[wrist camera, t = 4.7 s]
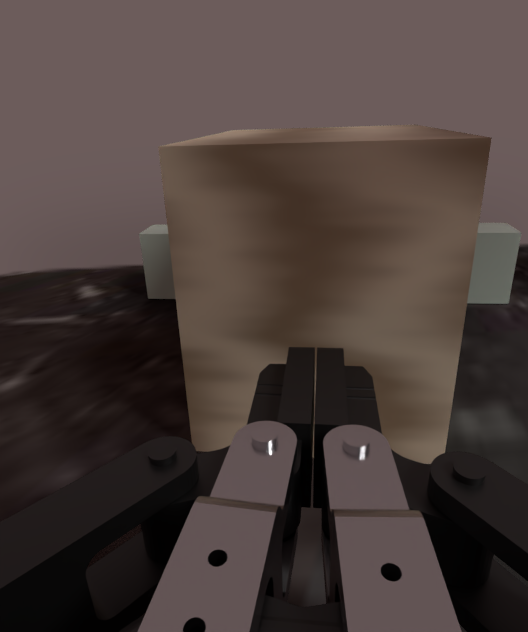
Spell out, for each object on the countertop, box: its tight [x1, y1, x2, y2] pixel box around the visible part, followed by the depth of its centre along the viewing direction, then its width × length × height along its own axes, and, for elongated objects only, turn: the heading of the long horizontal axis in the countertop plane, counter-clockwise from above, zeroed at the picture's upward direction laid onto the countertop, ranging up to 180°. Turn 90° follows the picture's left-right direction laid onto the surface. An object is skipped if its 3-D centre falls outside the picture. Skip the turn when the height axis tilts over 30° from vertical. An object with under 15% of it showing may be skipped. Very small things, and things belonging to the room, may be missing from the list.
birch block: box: [159, 125, 491, 464], centre depth 23 cm, size 10×13×12 cm
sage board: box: [139, 223, 521, 304], centre depth 35 cm, size 26×3×5 cm, turn 83°
